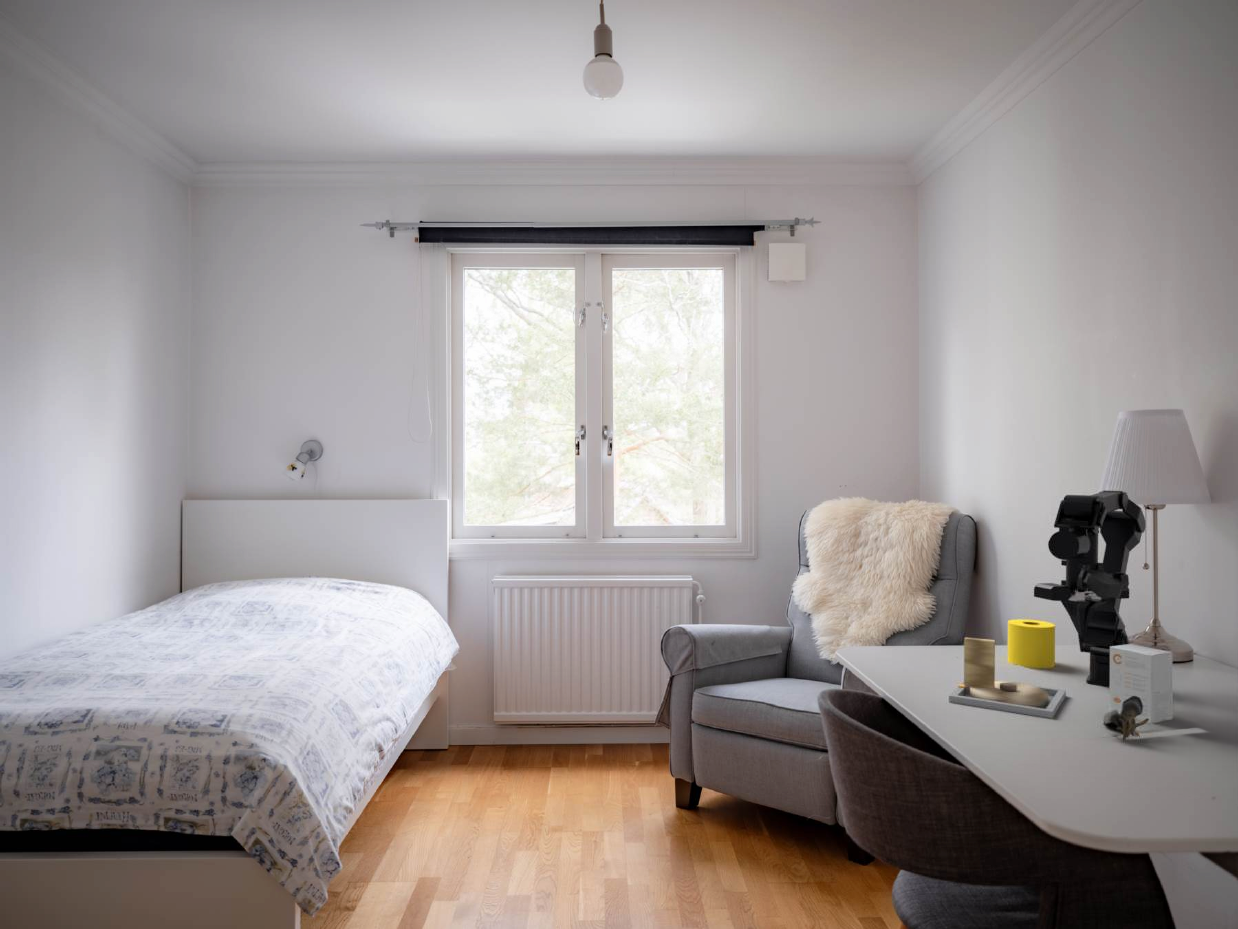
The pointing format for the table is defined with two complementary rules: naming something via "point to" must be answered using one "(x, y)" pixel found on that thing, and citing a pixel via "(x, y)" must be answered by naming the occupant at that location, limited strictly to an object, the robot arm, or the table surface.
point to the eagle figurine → (1126, 716)
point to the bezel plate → (1048, 711)
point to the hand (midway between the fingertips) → (1081, 633)
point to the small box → (1142, 680)
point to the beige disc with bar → (983, 677)
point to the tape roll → (1031, 643)
